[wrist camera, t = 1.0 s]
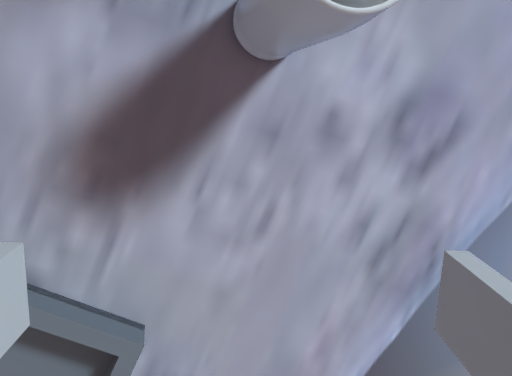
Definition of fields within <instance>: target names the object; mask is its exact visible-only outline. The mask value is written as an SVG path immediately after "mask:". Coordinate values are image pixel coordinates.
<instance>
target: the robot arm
mask: <svg viewBox="0 0 512 376" xmlns="http://www.w3.org/2000/svg"><path fill="white" fill-rule="evenodd" d="M29 325H30V319H29V307H28V295H27V282H26V270H25V257H24V245H23V243H17V242H0V358H1V357H2V356H3V355H4V354H5V353H6V352H7V350H8V349H9V348H10V347H11V346H12V345H13V344H14V342H15V341H16V340H17V339H18V338H19V337H20V336H21V334H22V333H23V332H24V331H25V330H26V329H27V328H28V326H29ZM434 329H435V331H436V332H437V333H438V335H439V336H440V337H441V338H442V339H443V341H444V342H445V343H446V344H447V346H448V347H449V348H450V349H451V351H452V352H453V353H454V354H455V356H456V357H457V358H458V359H459V361H460V362H461V363H462V364H463V366H464V367H465V368H466V369H467V371H468V372H469V373H470V374H471V376H512V282H511V281H509V280H508V279H506V278H505V277H504V276H502V275H501V274H499V273H498V272H497V271H495V270H494V269H492V268H491V267H490V266H488V265H487V264H485V263H484V262H483V261H481V260H480V259H478V258H477V257H476V256H474V255H473V254H471V253H470V252H469V251H444V259H443V266H442V274H441V282H440V291H439V298H438V305H437V313H436V321H435V328H434Z"/></svg>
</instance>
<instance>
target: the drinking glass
mask: <svg viewBox="0 0 512 376" xmlns="http://www.w3.org/2000/svg"><path fill="white" fill-rule="evenodd" d="M398 1H399V0H238V2H237V4H236V6H235V9H234V14H233V27H234V31H235V34H236V37H237V39H238V41H239V43H240V44H241V45H242V47H243V48H244V49H245V50H246V51H247V52H248V53H250V54H251V55H253V56H255V57H257V58H260V59H263V60H278V59H281V58H284V57H286V56H288V55H290V54H291V53H293V52H296V51H298V50H301V49H304V48H307V47H310V46H312V45H315V44H318V43H321V42H324V41H327V40H330V39H333V38H335V37H338V36H340V35H343V34H345V33H348V32H350V31H352V30H354V29H356V28H357V27H359V26H361V25H363V24H365V23H367V22H368V21H370V20H371V19H373V18H375V17H376V16H378V15H379V14H381V13H382V12H383V11H385V10H386V9H388V8H389V7H391V6H392V5H394V4H395V3H397V2H398Z"/></svg>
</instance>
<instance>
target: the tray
mask: <svg viewBox="0 0 512 376" xmlns="http://www.w3.org/2000/svg"><path fill="white" fill-rule="evenodd" d="M27 295H28V307H29V319H30V325H29V326H28V328H27V329H26V330H25V331H24V332H23V333H22V334H21V336H20V337H19V338H18V339H17V340H16V341H15V342H14V344H13V345H12V346H11V347H10V348H9V349H8V350H7V352H6V353H5V354H4V355H3V356H2V357H1V358H0V376H130V375H131V373H132V371H133V369H134V366H135V364H136V362H137V360H138V358H139V356H140V353H141V351H142V349H143V347H144V329H145V325H142V324H139V323H137V322H134V321H131V320H128V319H125V318H123V317H120V316H117V315H114V314H111V313H108V312H106V311H103V310H100V309H97V308H94V307H92V306H89V305H86V304H83V303H80V302H78V301H75V300H72V299H69V298H66V297H64V296H61V295H58V294H55V293H52V292H50V291H47V290H44V289H41V288H38V287H36V286H33V285H30V284H27Z"/></svg>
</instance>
